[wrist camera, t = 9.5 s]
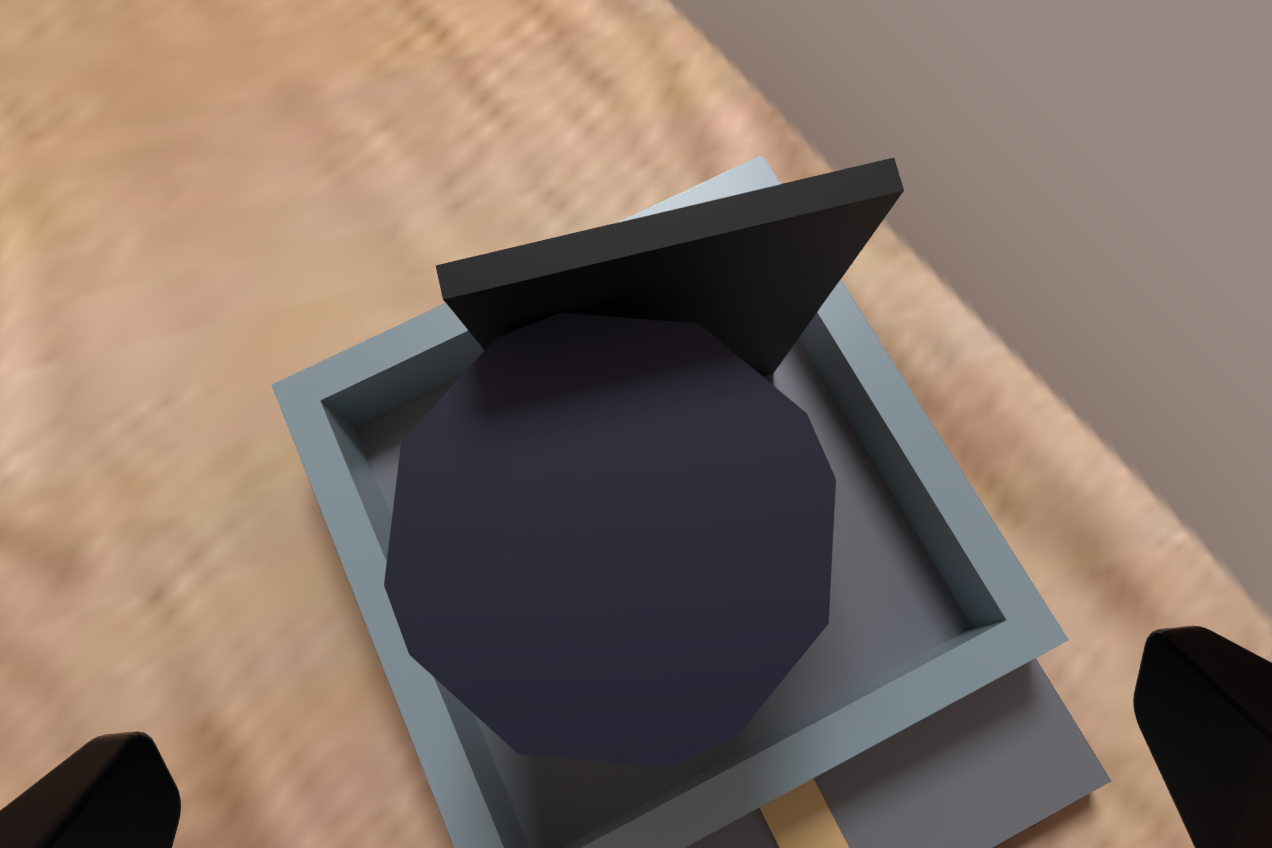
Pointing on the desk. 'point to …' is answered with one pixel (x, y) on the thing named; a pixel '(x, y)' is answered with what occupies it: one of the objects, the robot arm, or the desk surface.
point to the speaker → (630, 475)
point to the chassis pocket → (818, 683)
